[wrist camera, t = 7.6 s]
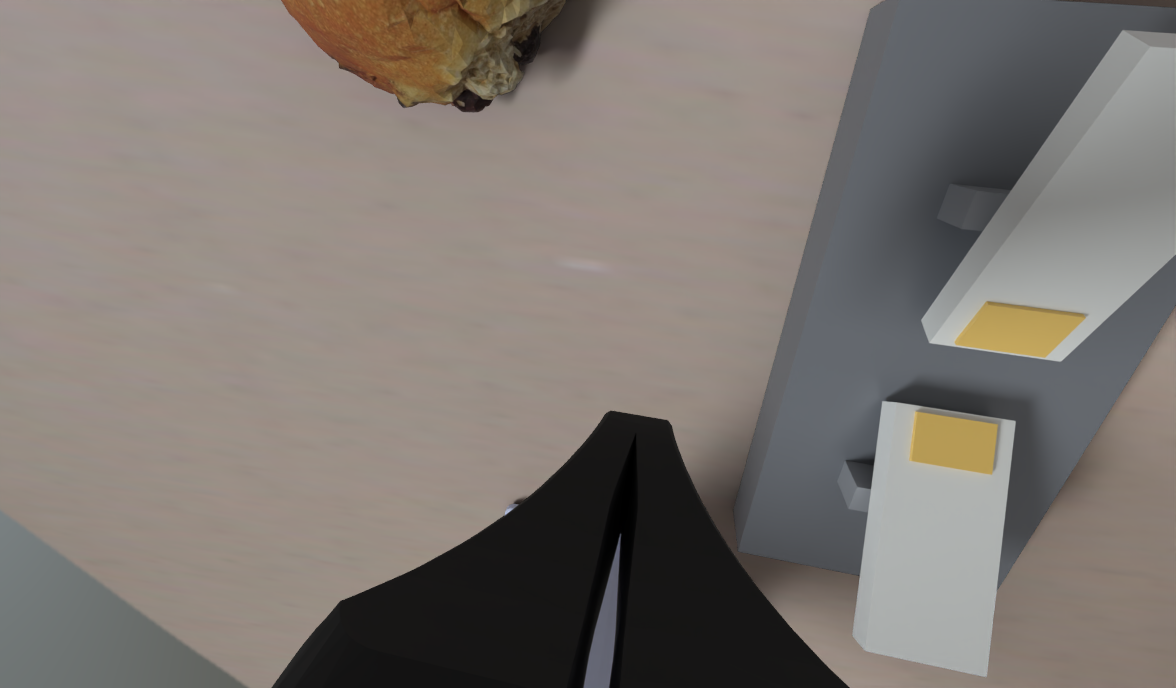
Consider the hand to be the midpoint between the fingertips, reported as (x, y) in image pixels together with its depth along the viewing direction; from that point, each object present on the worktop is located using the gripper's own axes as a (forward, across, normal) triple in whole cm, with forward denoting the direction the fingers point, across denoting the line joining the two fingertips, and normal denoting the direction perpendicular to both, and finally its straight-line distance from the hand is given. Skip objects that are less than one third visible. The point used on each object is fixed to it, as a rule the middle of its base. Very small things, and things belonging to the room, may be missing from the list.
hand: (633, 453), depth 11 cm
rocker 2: (+5, -10, -5) cm, 12 cm away
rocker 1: (+5, -10, +5) cm, 12 cm away
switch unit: (+10, -10, 0) cm, 14 cm away
